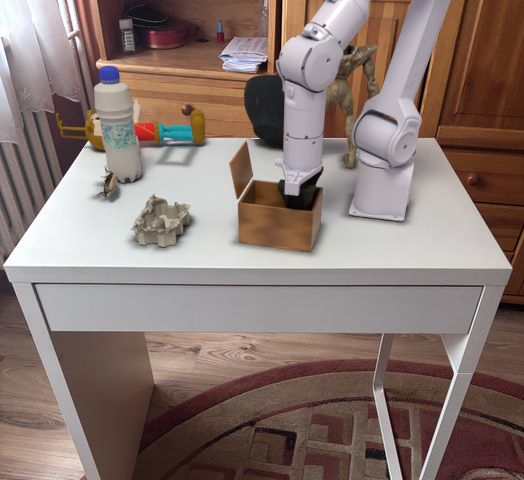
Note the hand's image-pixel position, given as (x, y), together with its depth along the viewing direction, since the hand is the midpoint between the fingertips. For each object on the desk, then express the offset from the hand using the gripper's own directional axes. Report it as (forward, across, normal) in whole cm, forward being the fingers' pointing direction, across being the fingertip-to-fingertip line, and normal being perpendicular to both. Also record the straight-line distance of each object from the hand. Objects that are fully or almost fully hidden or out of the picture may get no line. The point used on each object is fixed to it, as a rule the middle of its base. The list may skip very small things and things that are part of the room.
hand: (299, 217), depth 88 cm
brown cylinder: (+1, 0, 0) cm, 1 cm away
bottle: (+4, -13, -37) cm, 39 cm away
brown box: (+3, 0, -3) cm, 5 cm away
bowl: (0, -33, -13) cm, 36 cm away
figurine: (+3, -31, 0) cm, 31 cm away
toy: (+1, -34, -28) cm, 44 cm away
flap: (-7, 0, -9) cm, 12 cm away
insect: (+1, -6, -38) cm, 39 cm away
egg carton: (+4, +4, -22) cm, 23 cm away
